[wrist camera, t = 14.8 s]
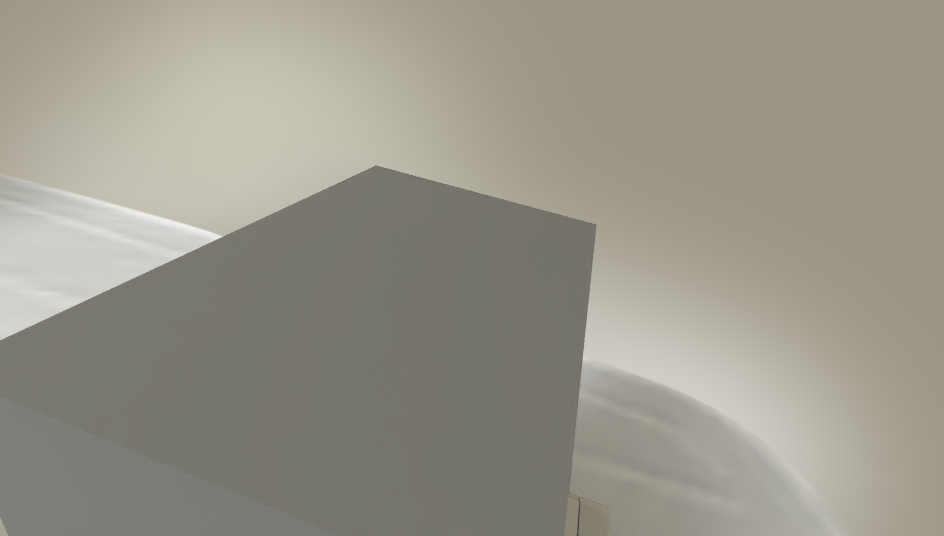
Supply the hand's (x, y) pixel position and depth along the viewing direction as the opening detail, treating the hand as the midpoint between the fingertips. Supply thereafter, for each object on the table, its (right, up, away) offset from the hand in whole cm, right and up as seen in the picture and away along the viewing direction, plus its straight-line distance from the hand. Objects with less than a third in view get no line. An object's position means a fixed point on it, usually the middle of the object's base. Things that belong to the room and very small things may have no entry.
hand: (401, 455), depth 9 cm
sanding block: (-1, -5, +2) cm, 6 cm away
